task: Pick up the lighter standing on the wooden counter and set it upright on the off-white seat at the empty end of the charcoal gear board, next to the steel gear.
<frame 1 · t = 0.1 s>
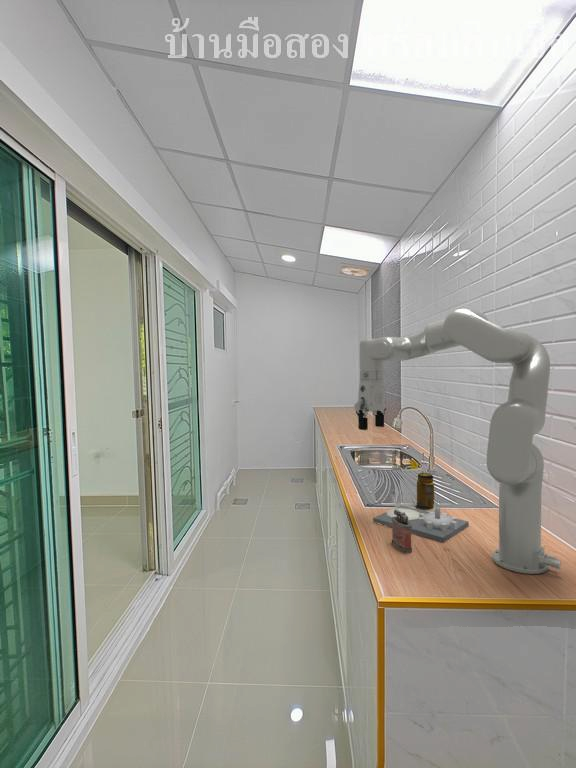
hand: (371, 428, 140), 31 cm above the table, tool pointing down, fingers open, 9 cm apart
condiment: (425, 508, 154), on the table
gear board: (420, 524, 137), on the table
lighter: (401, 548, 119), on the table
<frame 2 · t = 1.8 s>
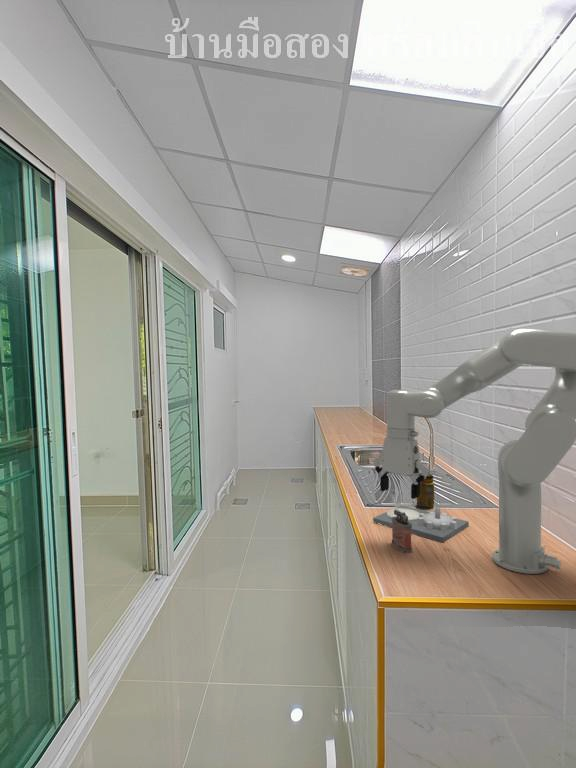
hand: (399, 493, 119), 15 cm above the table, tool pointing down, fingers open, 9 cm apart
nothing on the table moved.
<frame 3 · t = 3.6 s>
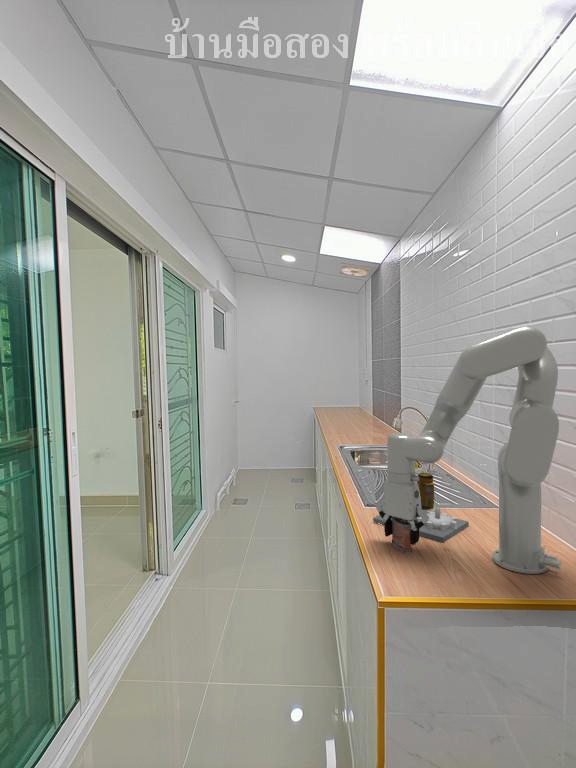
hand: (401, 538, 119), 2 cm above the table, tool pointing down, fingers closed on lighter, 7 cm apart
lighter: (401, 547, 119), on the table, touching gripper
everything else where it was.
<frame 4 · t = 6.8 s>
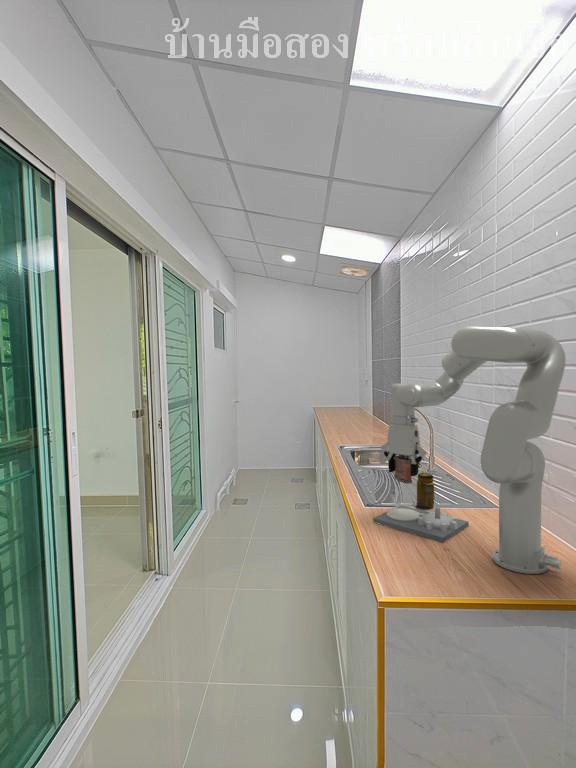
hand: (403, 473, 140), 16 cm above the table, tool pointing down, fingers closed on lighter, 7 cm apart
lighter: (403, 481, 140), point 13 cm above the table, touching gripper
everything else where it was.
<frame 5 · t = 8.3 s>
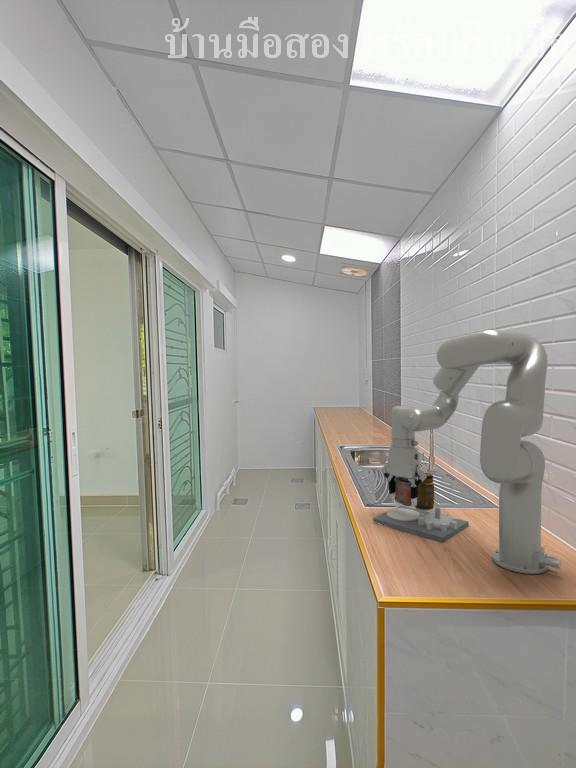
hand: (403, 495, 141), 8 cm above the table, tool pointing down, fingers closed on lighter, 7 cm apart
lighter: (403, 502, 141), point 6 cm above the table, touching gripper
everything else where it was.
when the fingers open (5 cm above the table, at t = 9.8 s): lighter stays where it is, resting on gear board.
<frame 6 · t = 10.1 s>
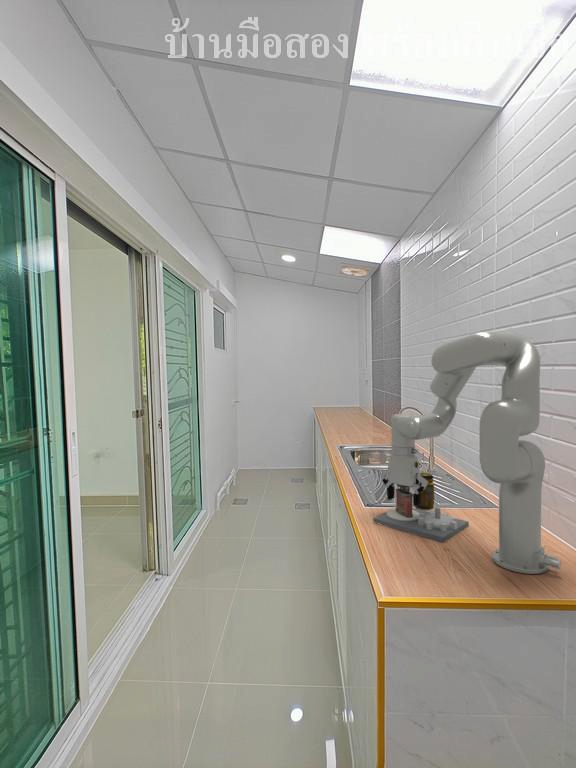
hand: (403, 501, 141), 6 cm above the table, tool pointing down, fingers open, 9 cm apart
lighter: (404, 514, 141), point 2 cm above the table, touching gear board
everything else where it was.
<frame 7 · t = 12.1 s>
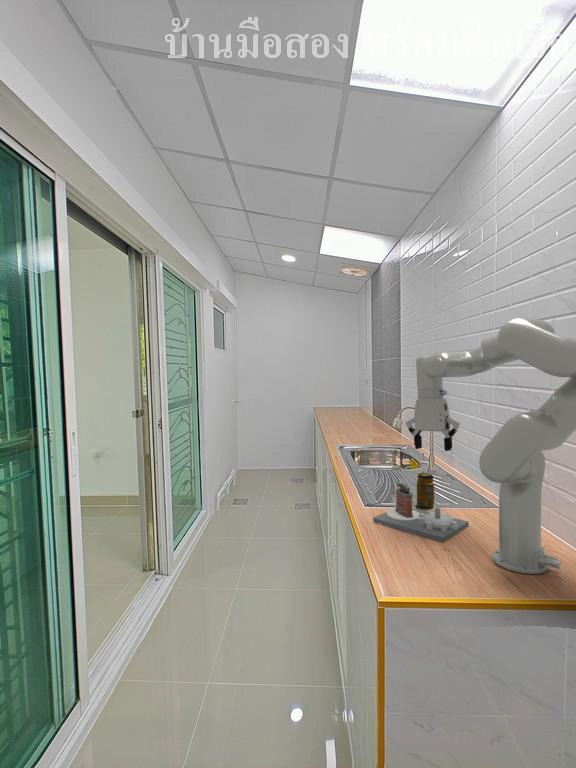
hand: (432, 449, 131), 25 cm above the table, tool pointing down, fingers open, 9 cm apart
nothing on the table moved.
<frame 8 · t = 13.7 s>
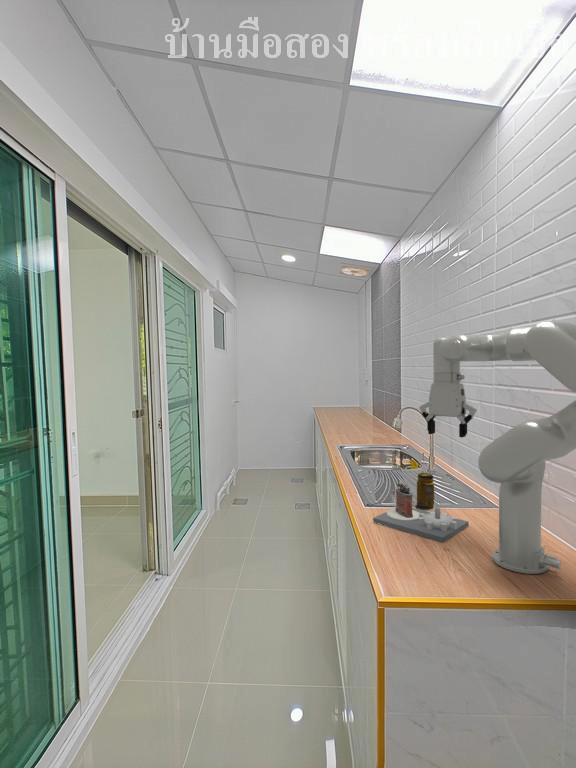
hand: (446, 435, 128), 30 cm above the table, tool pointing down, fingers open, 9 cm apart
nothing on the table moved.
at the end: lighter inside the target area on the gear board (0.3 cm from its centre), point 1.9 cm above the gear board's base; lighter tilted 0°; the gripper is holding nothing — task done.
